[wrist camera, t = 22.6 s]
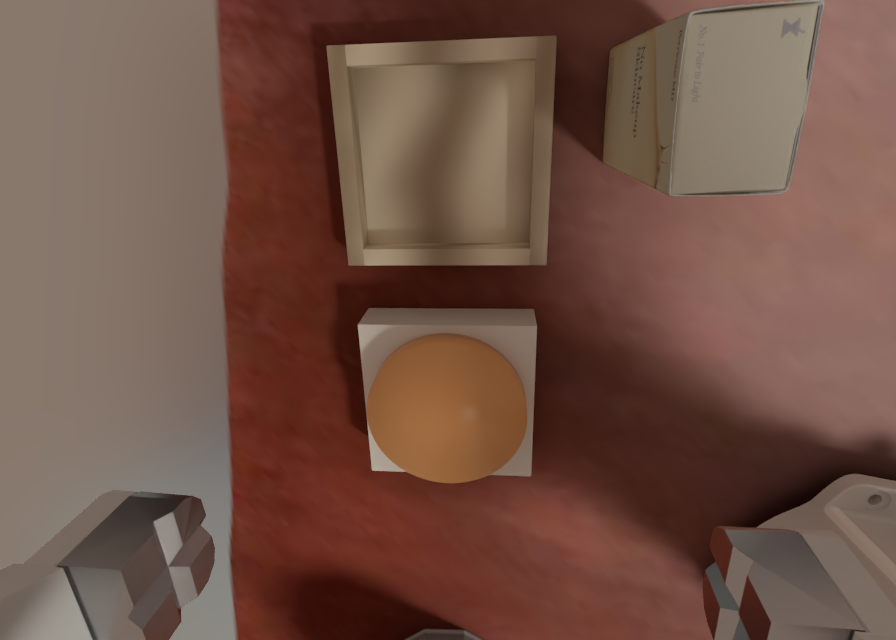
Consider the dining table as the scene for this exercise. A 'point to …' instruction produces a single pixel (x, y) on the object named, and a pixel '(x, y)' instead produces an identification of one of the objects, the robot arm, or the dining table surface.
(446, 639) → the can
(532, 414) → the white square base
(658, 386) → the dining table surface
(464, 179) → the beige soap dish
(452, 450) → the button
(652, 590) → the dining table surface
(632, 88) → the skincare box
